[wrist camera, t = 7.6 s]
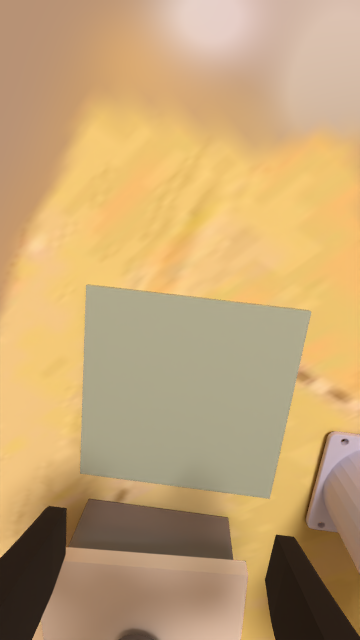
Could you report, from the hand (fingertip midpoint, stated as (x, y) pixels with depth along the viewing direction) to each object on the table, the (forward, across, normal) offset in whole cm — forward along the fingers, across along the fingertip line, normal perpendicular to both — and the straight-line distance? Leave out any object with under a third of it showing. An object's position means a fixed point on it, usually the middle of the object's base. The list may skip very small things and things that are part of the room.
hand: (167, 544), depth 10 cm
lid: (+6, +1, +14) cm, 16 cm away
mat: (+10, 0, 0) cm, 10 cm away
